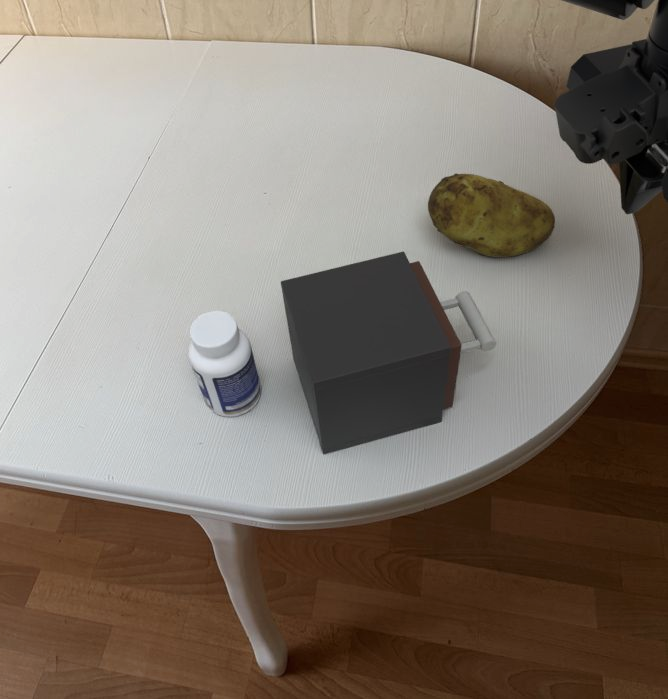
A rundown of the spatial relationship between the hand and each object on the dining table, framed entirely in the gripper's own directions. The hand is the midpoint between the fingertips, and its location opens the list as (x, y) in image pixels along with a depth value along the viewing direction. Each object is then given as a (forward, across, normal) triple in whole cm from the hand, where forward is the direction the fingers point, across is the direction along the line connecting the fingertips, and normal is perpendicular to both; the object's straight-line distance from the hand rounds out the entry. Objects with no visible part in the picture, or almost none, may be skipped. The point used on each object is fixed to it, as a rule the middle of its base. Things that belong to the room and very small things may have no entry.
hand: (629, 210), depth 61 cm
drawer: (+11, +3, -21) cm, 24 cm away
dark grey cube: (+12, +3, -25) cm, 28 cm away
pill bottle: (+12, 0, -37) cm, 39 cm away
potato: (+12, -11, -7) cm, 18 cm away
